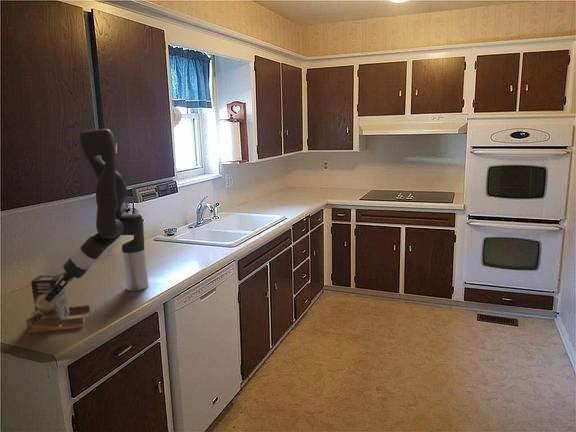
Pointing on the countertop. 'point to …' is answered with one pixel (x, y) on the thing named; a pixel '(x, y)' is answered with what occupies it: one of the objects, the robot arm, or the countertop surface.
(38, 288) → the coffee box
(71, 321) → the wooden tray
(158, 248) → the countertop surface
